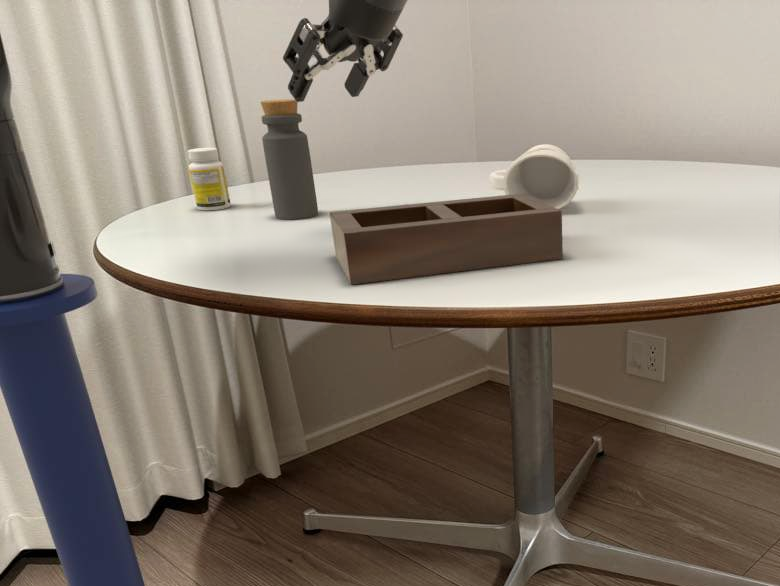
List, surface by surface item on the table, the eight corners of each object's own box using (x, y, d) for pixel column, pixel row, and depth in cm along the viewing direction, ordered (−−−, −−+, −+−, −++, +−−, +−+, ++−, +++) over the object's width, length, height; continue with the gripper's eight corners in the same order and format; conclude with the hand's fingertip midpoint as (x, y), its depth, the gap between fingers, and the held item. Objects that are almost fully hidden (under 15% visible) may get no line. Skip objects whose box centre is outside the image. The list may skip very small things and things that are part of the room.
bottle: (291, 211, 113) (273, 99, 107) (326, 212, 111) (310, 98, 105) (266, 219, 108) (246, 102, 102) (303, 220, 106) (285, 101, 100)
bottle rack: (563, 258, 83) (562, 210, 80) (350, 285, 76) (343, 233, 74) (525, 236, 93) (523, 193, 91) (335, 257, 86) (329, 211, 84)
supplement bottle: (212, 204, 120) (200, 147, 117) (237, 205, 119) (226, 147, 116) (190, 210, 116) (177, 151, 113) (216, 211, 115) (204, 151, 111)
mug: (579, 201, 113) (579, 142, 109) (578, 214, 104) (577, 151, 101) (496, 203, 113) (493, 145, 110) (488, 216, 105) (484, 153, 102)
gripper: (402, -39, 92) (350, 69, 103) (303, -47, 82) (257, 74, 93) (439, 9, 92) (383, 112, 103) (344, 7, 81) (292, 122, 92)
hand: (323, 94), depth 98 cm, fingers open, 8 cm apart
